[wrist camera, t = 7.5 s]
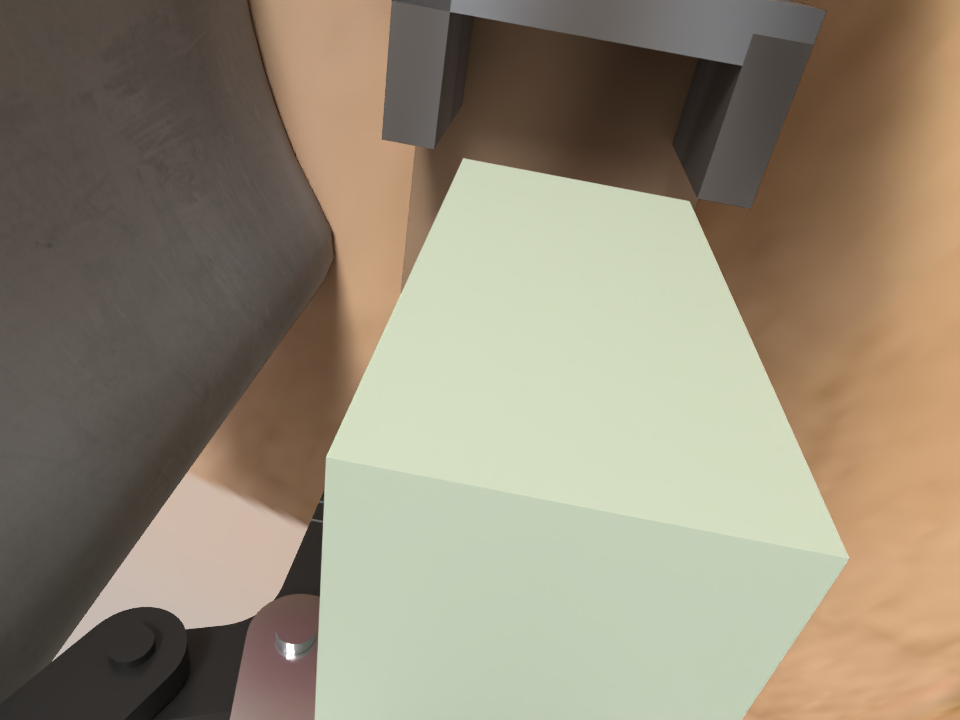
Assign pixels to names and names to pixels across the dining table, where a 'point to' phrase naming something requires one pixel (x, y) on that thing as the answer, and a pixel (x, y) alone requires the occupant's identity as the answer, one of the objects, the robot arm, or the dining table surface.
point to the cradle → (594, 93)
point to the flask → (129, 280)
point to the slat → (564, 476)
